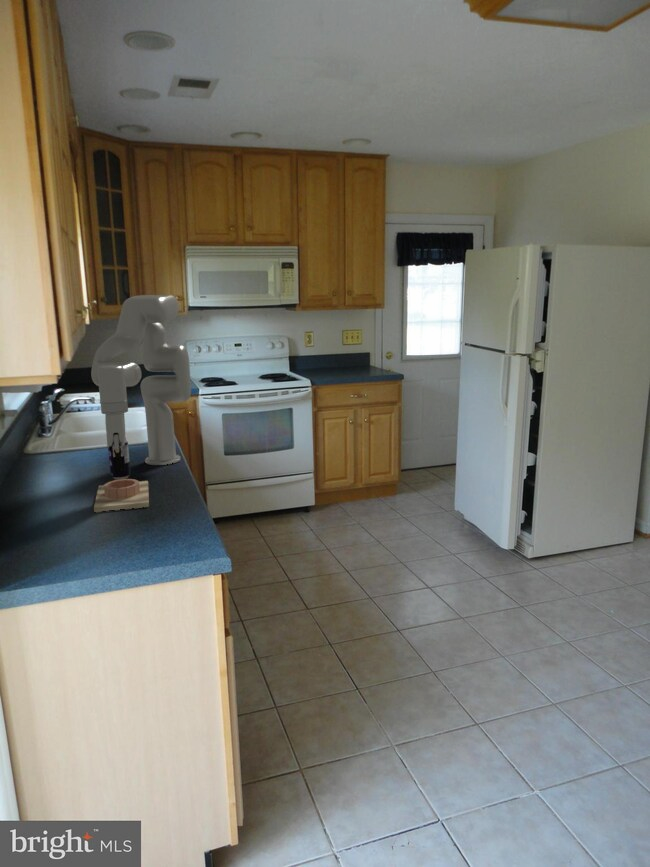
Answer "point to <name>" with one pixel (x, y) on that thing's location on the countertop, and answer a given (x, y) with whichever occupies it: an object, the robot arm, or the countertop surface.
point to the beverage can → (125, 472)
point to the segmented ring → (121, 488)
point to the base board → (122, 500)
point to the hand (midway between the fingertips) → (119, 466)
